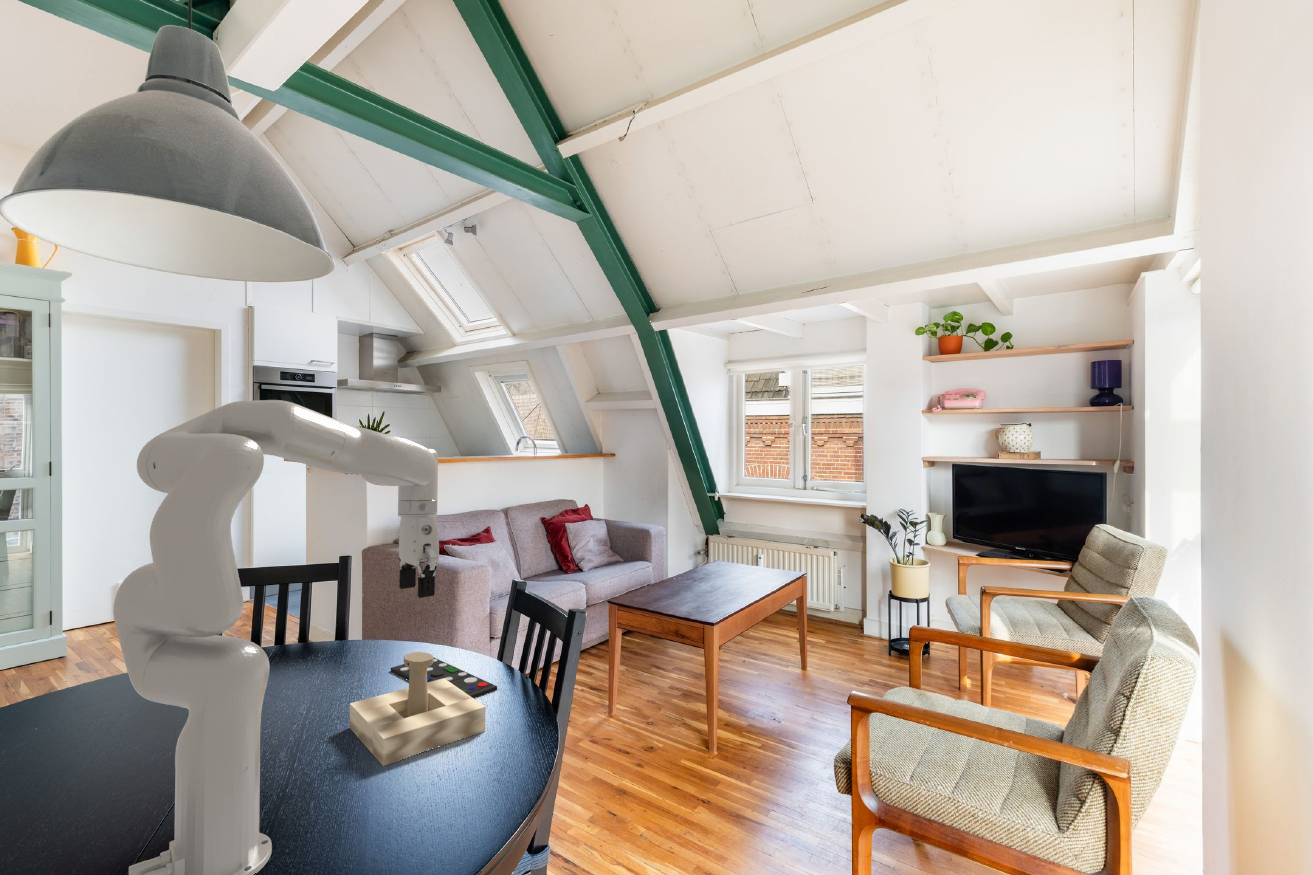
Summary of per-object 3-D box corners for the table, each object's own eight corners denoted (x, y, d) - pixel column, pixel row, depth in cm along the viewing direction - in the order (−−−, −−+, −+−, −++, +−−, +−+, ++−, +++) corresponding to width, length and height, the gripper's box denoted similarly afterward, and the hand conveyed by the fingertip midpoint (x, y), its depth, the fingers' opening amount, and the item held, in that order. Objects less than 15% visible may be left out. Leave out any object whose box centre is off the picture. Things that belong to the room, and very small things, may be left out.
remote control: (455, 707, 136) (455, 698, 136) (390, 673, 155) (390, 665, 155) (497, 692, 144) (497, 683, 144) (431, 661, 164) (431, 654, 164)
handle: (416, 739, 120) (417, 663, 120) (397, 730, 124) (398, 656, 124) (437, 729, 124) (438, 656, 124) (418, 721, 128) (419, 650, 128)
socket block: (383, 766, 110) (383, 738, 110) (349, 727, 125) (349, 703, 125) (485, 731, 124) (485, 706, 124) (443, 700, 138) (444, 678, 138)
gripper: (453, 510, 120) (452, 597, 120) (419, 504, 133) (418, 582, 133) (415, 513, 115) (414, 603, 115) (384, 506, 128) (382, 587, 128)
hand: (416, 591), depth 124 cm, fingers open, 9 cm apart
